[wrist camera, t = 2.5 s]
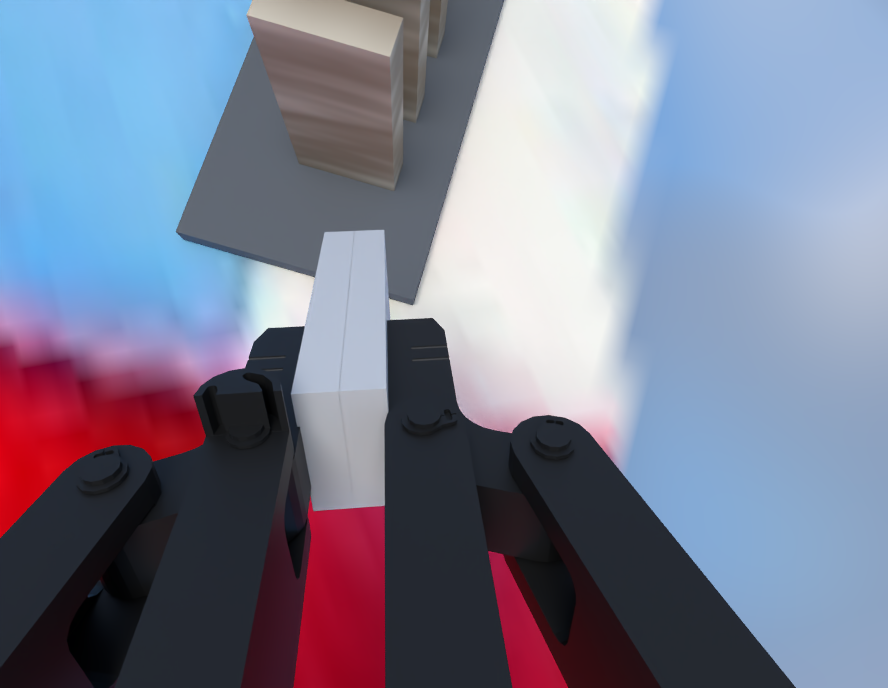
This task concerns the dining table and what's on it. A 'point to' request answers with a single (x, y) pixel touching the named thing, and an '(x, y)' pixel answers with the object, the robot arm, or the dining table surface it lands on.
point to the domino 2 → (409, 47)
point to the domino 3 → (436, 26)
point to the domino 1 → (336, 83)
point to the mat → (329, 195)
